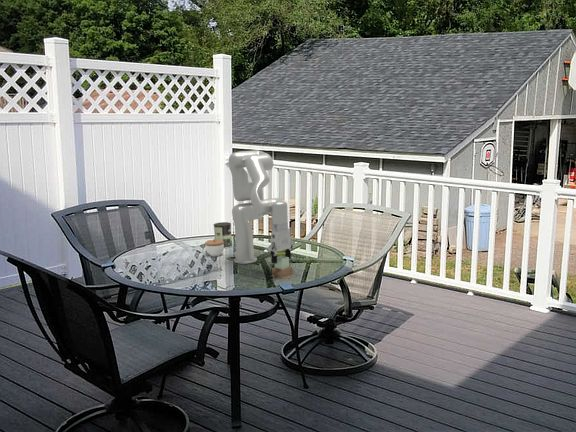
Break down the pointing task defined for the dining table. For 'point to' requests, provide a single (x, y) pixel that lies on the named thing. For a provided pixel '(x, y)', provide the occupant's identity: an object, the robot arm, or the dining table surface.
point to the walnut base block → (282, 272)
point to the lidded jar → (214, 247)
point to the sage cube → (282, 262)
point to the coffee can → (223, 233)
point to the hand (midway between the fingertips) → (281, 260)
